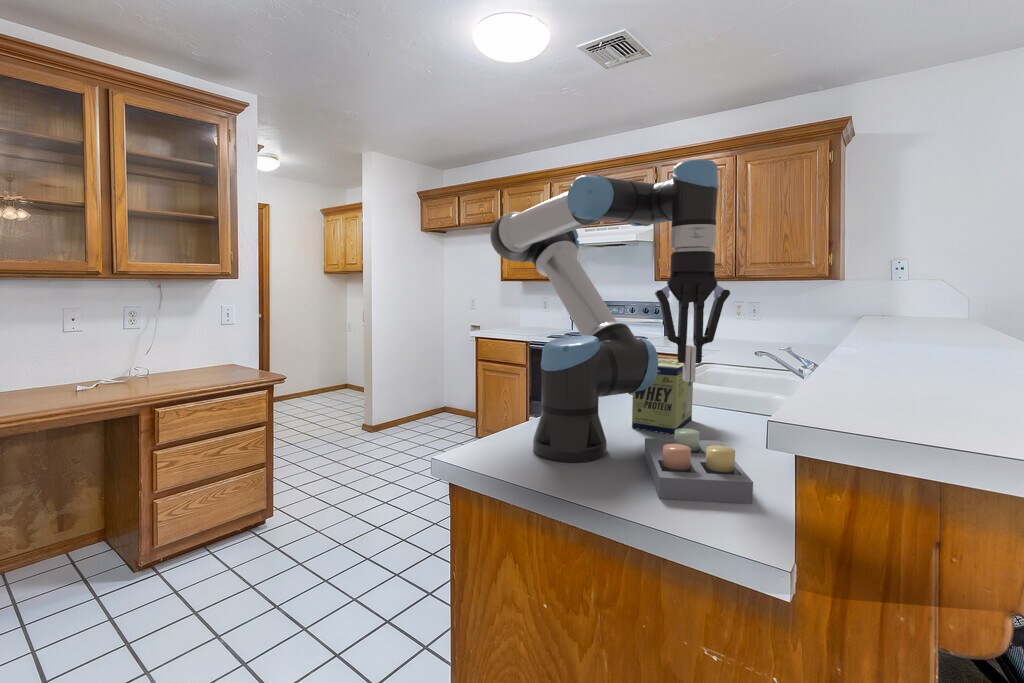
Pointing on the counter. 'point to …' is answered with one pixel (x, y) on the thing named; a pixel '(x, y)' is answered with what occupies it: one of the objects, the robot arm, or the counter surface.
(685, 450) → the terracotta button
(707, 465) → the mustard button
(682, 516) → the counter surface
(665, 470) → the console
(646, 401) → the protein box
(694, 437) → the sage button
